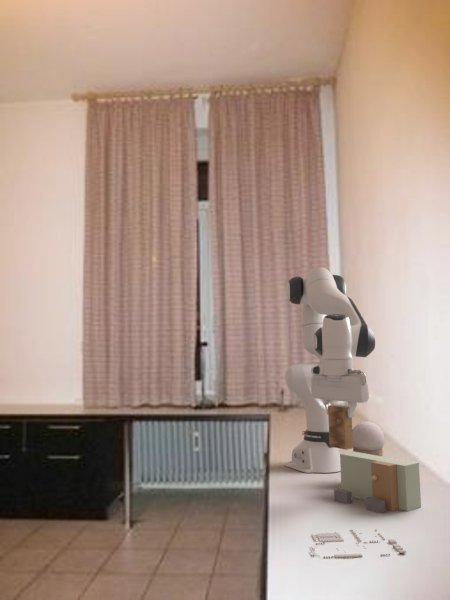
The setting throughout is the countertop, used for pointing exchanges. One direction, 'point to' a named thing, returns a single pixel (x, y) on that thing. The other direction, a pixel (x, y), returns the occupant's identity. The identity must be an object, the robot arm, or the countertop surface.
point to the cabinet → (379, 482)
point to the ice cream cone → (368, 439)
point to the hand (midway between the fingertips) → (340, 416)
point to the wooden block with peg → (340, 427)
